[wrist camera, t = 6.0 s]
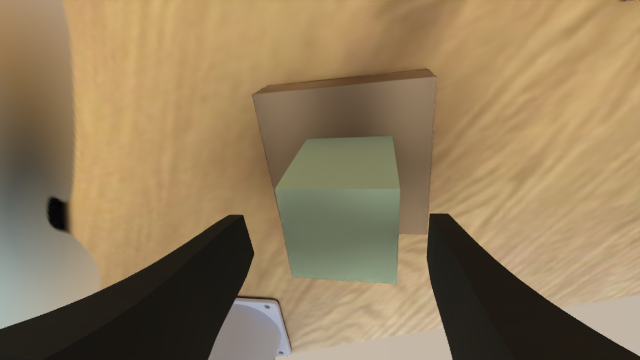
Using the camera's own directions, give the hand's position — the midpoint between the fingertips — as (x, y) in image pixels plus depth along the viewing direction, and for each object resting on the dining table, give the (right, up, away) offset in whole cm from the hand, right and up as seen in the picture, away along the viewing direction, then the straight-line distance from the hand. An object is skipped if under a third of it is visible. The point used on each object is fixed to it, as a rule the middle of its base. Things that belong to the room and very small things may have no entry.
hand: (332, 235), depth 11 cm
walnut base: (+1, +4, +7) cm, 9 cm away
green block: (+1, +2, +5) cm, 6 cm away
